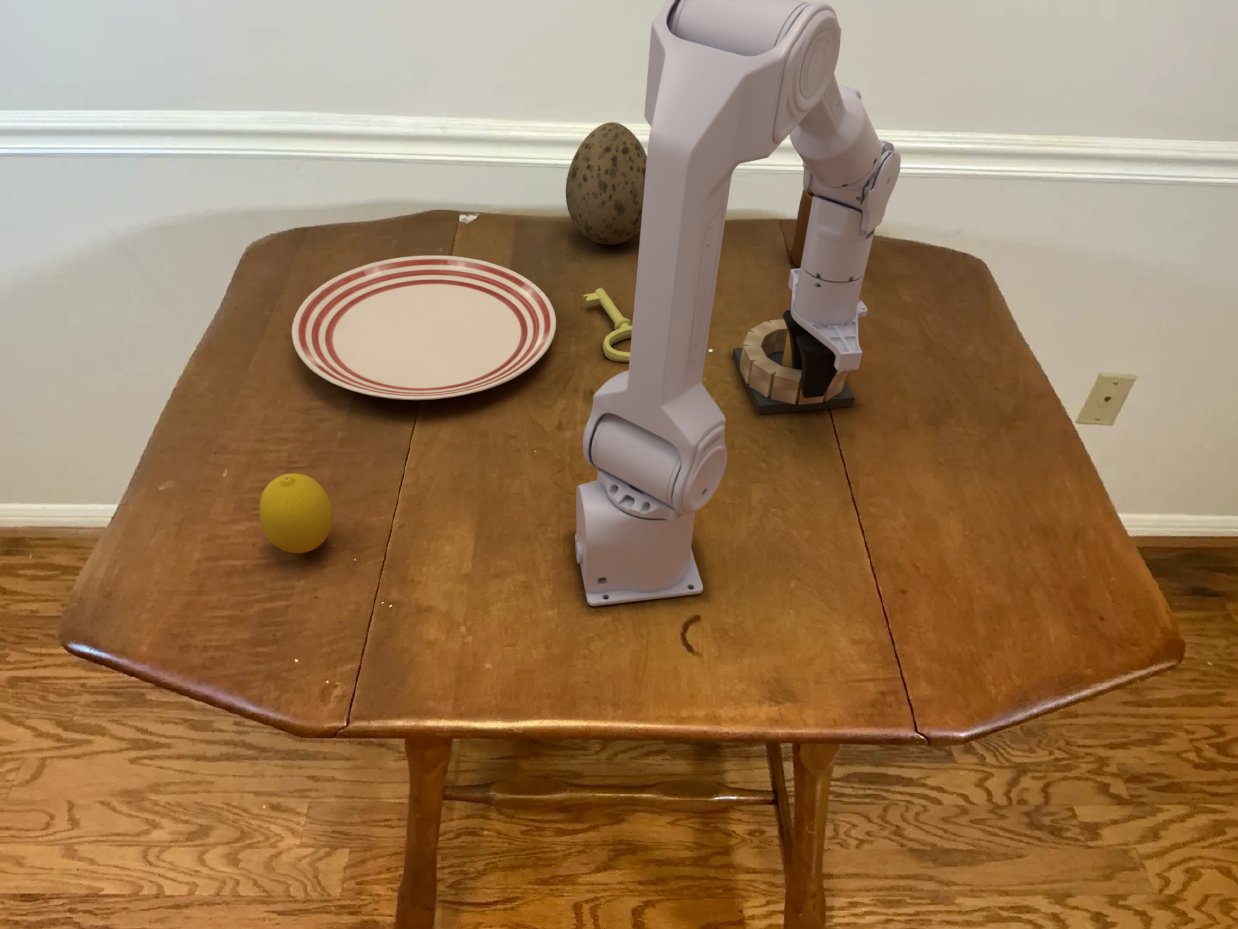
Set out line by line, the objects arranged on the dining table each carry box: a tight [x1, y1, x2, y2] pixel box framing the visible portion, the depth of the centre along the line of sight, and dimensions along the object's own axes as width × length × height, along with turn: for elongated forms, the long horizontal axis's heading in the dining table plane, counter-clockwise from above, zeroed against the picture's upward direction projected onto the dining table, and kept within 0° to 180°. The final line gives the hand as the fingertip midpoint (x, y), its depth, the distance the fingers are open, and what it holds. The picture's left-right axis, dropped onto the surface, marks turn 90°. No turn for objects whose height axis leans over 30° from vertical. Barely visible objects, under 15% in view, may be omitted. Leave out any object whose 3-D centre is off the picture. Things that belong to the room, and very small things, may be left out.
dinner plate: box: [291, 255, 557, 401], centre depth 101 cm, size 28×27×3 cm
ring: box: [740, 318, 849, 405], centre depth 97 cm, size 11×11×3 cm
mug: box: [791, 188, 814, 269], centre depth 113 cm, size 12×8×9 cm, turn 1°
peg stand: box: [731, 333, 856, 416], centre depth 97 cm, size 10×10×6 cm
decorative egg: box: [565, 121, 647, 245], centre depth 115 cm, size 11×11×15 cm
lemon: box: [259, 472, 333, 554], centre depth 77 cm, size 6×6×8 cm
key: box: [582, 287, 633, 363], centre depth 104 cm, size 7×12×2 cm, turn 43°
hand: (808, 387), depth 94 cm, fingers closed on ring, 2 cm apart
